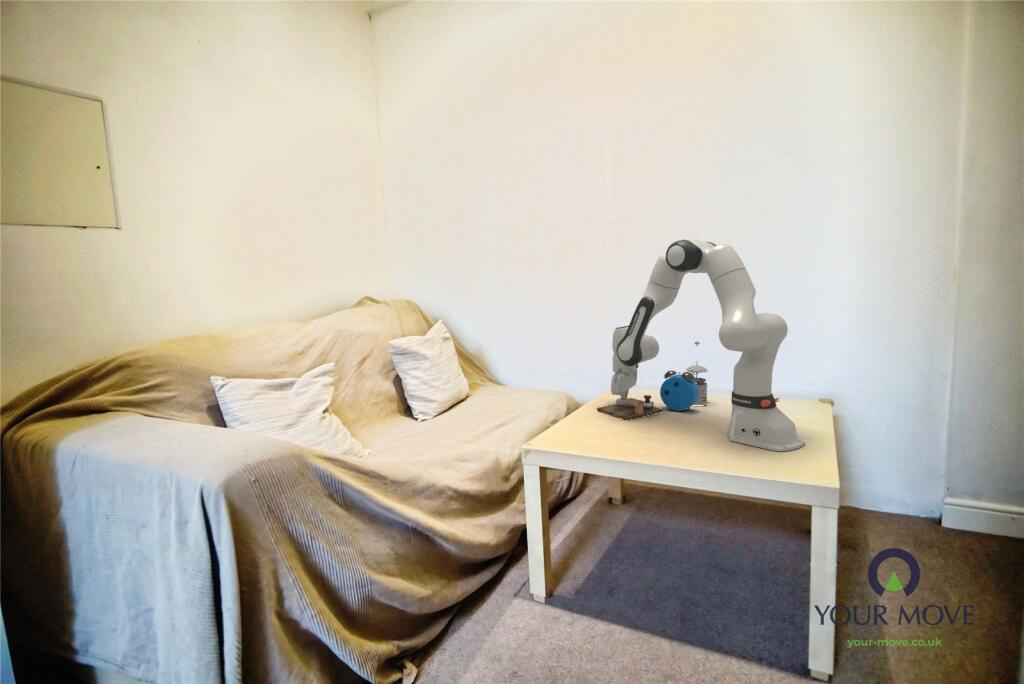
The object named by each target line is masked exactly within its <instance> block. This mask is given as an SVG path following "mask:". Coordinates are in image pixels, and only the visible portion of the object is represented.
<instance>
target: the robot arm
mask: <svg viewBox="0 0 1024 684" xmlns="http://www.w3.org/2000/svg"><path fill="white" fill-rule="evenodd" d="M742 260H743V259H741V257H740V256H739V254H738V253H737V251H736V249H734V247H732V246H731V245H729V244H725V243H724V244H715V243H714V242H710V241H703V240H699V239H680V240H676V241H674V242H672V243H671V244H670V245H669V246H668V247H667V249H666V252H664V253H662V254H661V255H660V256H659V257H658V258H657V260H656V263H655V264H654V266H653V268H652V271H651V273H650V275H649V279H648V282H647V285H646V289H645V290H644V293H643V295H642V297H641V298H640V300H639V302H638V303H637V306H636V307H635V310H634V312H633V314H632V317H631V319H630V322H629V324H628V325H624V326H620V327H616V328H614V330H613V333H612V345H611V346H612V353H613V354H612V355H613V356H612V372H614V373H613V374H612V377H611V382H610V383H611V384H610V392H611V395H614V396H620V398H624V399H628V395H629V391H630V389H632V388H633V387H635V386H636V385H637V383H638V382H637V381H638V369H639V364H641V363H645V362H647V361H650V360H653V359H655V358H656V357H657V356H658V354H659V352H660V345H659V342H658V341H657V339H656V337H654V336H651V335H648V334H646V332H647V329H648V327H649V324H650V322H651V321H652V320H653V318H654V317H655V316H656V315H658V314H659V313H661V312H662V311H664V310H665V309H667V308H668V307H670V306H672V305H673V303H674V302H675V301H676V298H677V296H678V294H679V291H680V288H681V284H682V282H683V280H684V277H685V275H687V274H688V273H691V274H699V273H700V274H707V275H708V278H709V281H710V282H711V286H712V287H713V289H714V292H715V294H716V298H717V299H718V302H719V305H720V309H721V318H722V323H721V325H720V327H719V330H718V340H719V341H720V344H721V345H722V346H723V347H724V348H725V349H726V350H729V351H734V352H739V353H741V356H740V358H738V359H739V360H738V361H737V363H736V364H735V366H734V367H733V380H732V381H733V384H732V391H731V399H730V400H731V401H730V402H731V406H732V407H731V414H730V415H731V416H730V420H729V424H728V429H727V431H726V434H727V436H728V437H729V441H731V442H735V443H738V444H741V445H742V444H743V445H748V446H750V447H751V446H753V447H757V448H761V449H765V450H769V451H774V452H788V451H794V450H798V449H799V448H802V447H804V445H805V444H806V443H805V439H803V438H801V437H798V435H797V429H796V425H795V423H794V421H793V420H791V419H790V418H789V417H788V415H786V414H785V413H784V412H782V410H780V409H779V408H778V406H777V403H778V402H779V400H780V397H776V398H775V396H774V394H773V393H772V384H773V370H774V365H775V361H776V358H777V355H778V351H779V348H780V347H781V344H782V343H783V341H784V340H785V339H786V337H787V335H788V333H789V332H788V324H787V322H786V320H785V319H784V318H783V317H782V316H780V315H777V314H773V313H769V312H762V313H756V312H757V311H756V310H755V305H754V300H755V299H754V298H755V297H756V295H757V294H756V293H757V291H756V288H755V286H754V284H753V282H752V279H751V277H750V275H749V273H748V270H747V268H746V266H745V265H744V262H743V261H742Z"/></svg>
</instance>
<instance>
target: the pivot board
mask: <svg viewBox="0 0 1024 684" xmlns="http://www.w3.org/2000/svg"><path fill="white" fill-rule="evenodd" d="M596 411H597V412H599V411H600V413H602V412H603V413H602V414H605V413H606V415H608V414H609V415H608V416H611V415H612V417H614V416H615V417H614V418H617V417H618V418H617V419H620V418H622V419H621V420H623V419H624V421H626V420H628V421H631V420H630V419H633V420H635V418H637V419H640V418H639V417H641V418H644V417H643V416H646V417H648V416H647V415H650V416H653V415H652V414H654V415H656V414H655V413H658V414H661V413H660V412H663V413H664V409H663V408H661V407H660V408H659V407H655V406H654V408H652V409H644V408H643V413H642V414H637V413H635V407H632V406H623V405H616V404H615V403H614V404H611V405H606V406H601V407H597V409H596Z"/></svg>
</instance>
